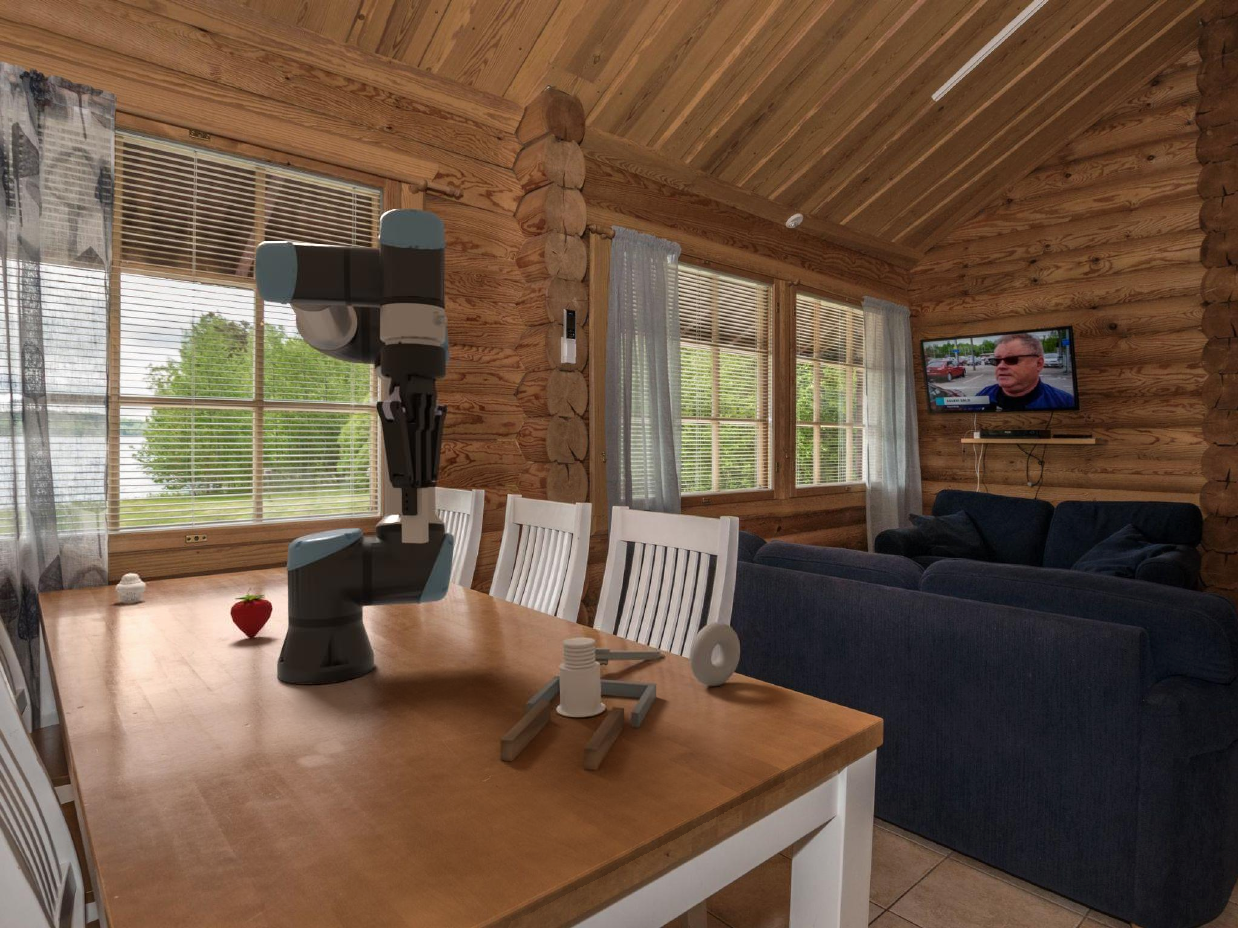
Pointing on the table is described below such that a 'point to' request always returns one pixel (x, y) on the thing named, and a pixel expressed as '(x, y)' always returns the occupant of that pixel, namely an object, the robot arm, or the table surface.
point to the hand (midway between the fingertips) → (415, 541)
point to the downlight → (579, 679)
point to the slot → (540, 717)
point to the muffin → (130, 588)
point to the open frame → (607, 688)
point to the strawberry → (251, 614)
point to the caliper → (624, 655)
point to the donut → (703, 653)
